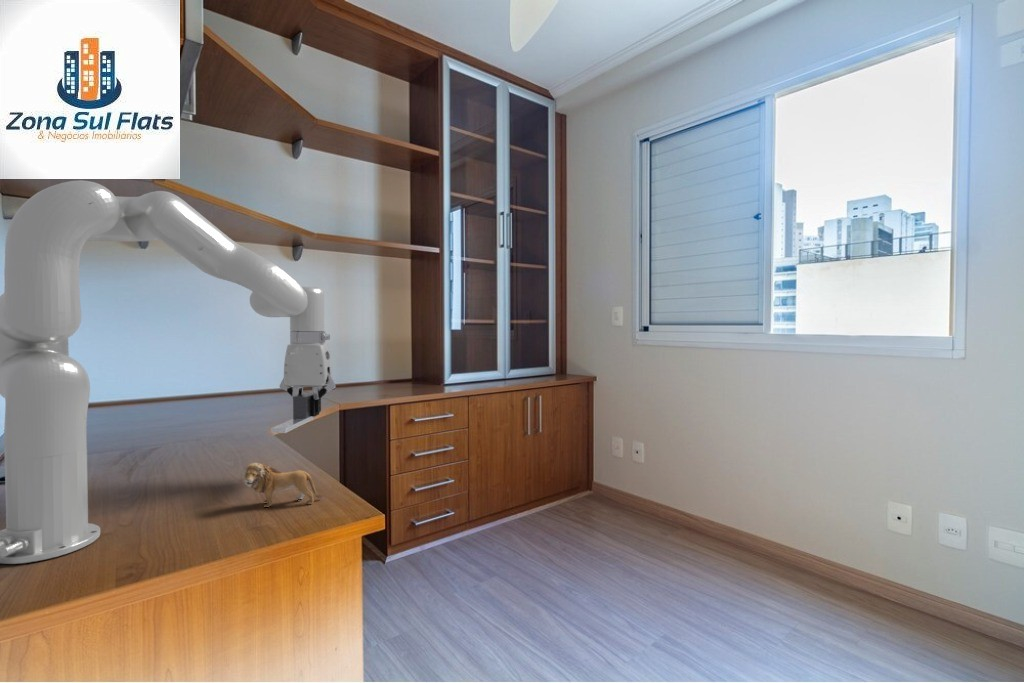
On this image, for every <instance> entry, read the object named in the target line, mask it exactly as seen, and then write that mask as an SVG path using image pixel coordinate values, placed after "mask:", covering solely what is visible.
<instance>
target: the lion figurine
mask: <svg viewBox="0 0 1024 683" xmlns="http://www.w3.org/2000/svg"><path fill="white" fill-rule="evenodd" d="M242 476H243V478H242V481H243V483H244V485H245V486H247V487H249V488H251V489H252V490H254V491H255V492H256V493H264V497H265V500H264V501H263V502H267V504H263V506H264V507H268V506H271V507H272V505H273V499H272V498H273V494H274V492H279V491H280V492H281V491H282V492H284V491H287V490H290V489H292V488H294V487H295V488H296V490H297V491H299V492H300V495H299V496H296V497H295V500H296V499H297V500H298V499H302V500H303V498H304V497H307V498H308V499H309V500H307V501H306V502H305V503H306V505H307V504H311V505H313V504H314V501H315V499H314V498H315V497H316V498H319V499H321V498H324V496H323V495H321V494H320V493H317V490H316V486H315V484H314V481H313V479H312V476H311V475H310V474H309V473H308V472H306V471H305V470H300V469H297V470H294V471H288V472H281V471H279V470H277V469H276V468H275V467H273V466H268V465H266V464H265V463H262V462H251V463H250V464H248V465H247V466H244V467H243V475H242ZM308 482H309V484H310V487H311V490H312V491H311V490H310V489H309V488H308ZM314 496H315V497H314ZM297 500H296V501H297ZM298 501H299V500H298ZM312 503H313V504H312ZM264 507H263V508H264Z"/></svg>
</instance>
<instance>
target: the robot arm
mask: <svg viewBox="0 0 1024 683" xmlns="http://www.w3.org/2000/svg"><path fill="white" fill-rule="evenodd" d="M87 241H94V242H96V241H98V242H99V241H100V242H101V241H102V242H103V241H105V242H106V241H107V242H152V241H153V242H154V241H155V242H156V241H160V242H162V243H163V244H164V245H166V246H167V247H168V248H171V250H173V251H174V252H176V253H177V254H178V255H180V256H181V257H183V258H184V259H185V260H187V261H188V262H190V263H191V264H192V265H193V266H195V267H196V268H197V269H199V270H200V271H202V272H203V273H205V274H207V275H210V276H212V277H214V278H217V279H220V280H222V281H227V282H231V283H233V284H234V283H235V284H237V285H239V286H241V287H244V288H246V289H247V290H249V291H251V293H250V296H249V304H250V307H251V309H252V310H253V311H254V312H255V313H256V314H258V315H260V316H262V317H266V318H289V331H290V332H289V341H290V342H289V344H287V346H286V352H285V356H284V365H283V378H282V380H281V381H280V384H279V389H281V390H284V391H286V392H287V393H288V394H289V395H290V396H291V398H292V399H293V397H294V396H297V395H300V394H303V392H304V387H307V388H309V387H310V388H312V394H313V400H312V401H311V415H312V417H317V416H319V415H320V413H321V411H322V398H323V397H324V396H325V395H326V394H327V393H328V392H330V391H332V390H334V389H336V387H337V386H336V383H335V381H334V379H333V368H332V358H331V353H330V352H331V351H330V347H329V344H325V343H326V341H330V339H331V335H330V334H327V333H326V331H325V292H324V291H323V289H322V288H321V287H315V286H302V285H301V284H300V283H299V282H297V280H295V279H294V278H293V277H291V275H290V274H289V273H287V272H286V271H285V270H283V269H282V268H280V266H278V265H277V264H275V263H273V262H272V261H270V260H269V259H266V258H265V257H263V256H261V255H259V254H258V253H256V252H254V251H252V250H250V249H249V248H246V247H245V246H243V245H240V244H239V243H237V242H236V241H234V240H233V239H232V238H231V237H229V236H228V235H227V234H225V233H224V232H223V231H221V230H220V228H218V227H217V226H215V225H214V224H213V223H212V221H210V220H208V219H207V218H206V217H205V216H203V215H202V214H201V213H200V212H199V211H197V210H196V209H195V208H194V207H192V206H191V205H190V204H188V202H186V201H185V200H184V199H182V198H181V197H179V196H178V195H176V194H174V193H173V192H170V191H165V190H156V191H151V192H147V193H143V194H142V195H140V196H117V195H116V196H115V194H114V193H113V192H112V191H111V190H110V188H109V189H108V188H107V187H105V186H104V185H103V184H100V183H98V182H94V181H89V180H83V179H82V180H70V181H65V182H61V183H57V184H54V185H51V186H49V187H46V188H44V189H42V190H40V191H38V192H36V193H35V194H33V195H32V196H31V197H29V198H28V199H27V200H26V201H25V202H24V203H23V204H22V205H21V206H20V207H19V208H18V210H17V211H16V213H14V215H13V217H12V219H11V221H10V223H9V225H8V228H7V232H6V236H5V244H4V246H5V247H4V271H3V272H4V274H3V275H4V288H3V289H4V291H3V293H2V294H1V295H0V396H1V397H3V398H4V401H5V403H4V404H5V406H4V407H5V408H4V411H5V412H4V426H3V428H4V429H3V431H4V432H3V451H4V452H3V453H4V454H3V455H4V479H5V481H4V484H5V485H4V486H5V487H4V489H5V493H4V494H5V524H6V525H5V528H4V529H0V564H4V565H5V564H6V565H16V564H19V565H20V564H27V563H34V562H39V561H40V562H41V561H44V560H49V559H53V558H57V557H61V556H65V555H67V554H70V553H73V552H75V551H77V550H80V549H83V548H85V547H86V546H89V545H91V544H92V543H94V542H95V541H96V540H98V538H100V536H101V527H100V526H99V525H97V524H96V523H95V524H94V523H92V522H91V523H89V506H88V505H89V501H88V500H89V499H88V497H89V495H88V488H89V487H88V447H87V446H88V444H87V443H88V442H87V438H88V437H87V432H88V431H87V428H88V427H87V422H88V411H89V410H88V409H89V404H90V403H89V402H90V401H89V400H90V394H91V392H90V391H91V385H90V384H91V383H90V378H89V376H88V372H87V370H86V369H85V368H84V366H83V365H82V364H81V363H80V362H78V361H77V360H76V359H74V358H73V357H71V356H69V355H70V354H69V338H70V337H71V336H73V335H74V334H75V333H76V332H77V331H78V329H79V328H80V325H81V323H82V309H81V308H82V307H81V294H80V288H81V287H80V264H81V263H80V262H81V260H80V259H81V253H82V250H83V248H84V246H85V243H86V242H87ZM325 385H326V386H325ZM323 386H324V387H323Z"/></svg>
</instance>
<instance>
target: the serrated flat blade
mask: <svg viewBox="0 0 1024 683" xmlns="http://www.w3.org/2000/svg"><path fill="white" fill-rule="evenodd" d="M312 400H313V393H311V394H307V393H306V394H300V395H297V396H294V397H293V398H292V415H293V417H292V418H291V419H289V420H286V421H284V422H282V423H279V424H277V425H276V426H273V427H271V428H270V433H271V434H287V433H288V432H291V431H293V430H294V429H297V428H299V427H301V426H303V425H306V424H307V423H308V422H312V421H313V420H314V417H312V415H311V401H312Z"/></svg>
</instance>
